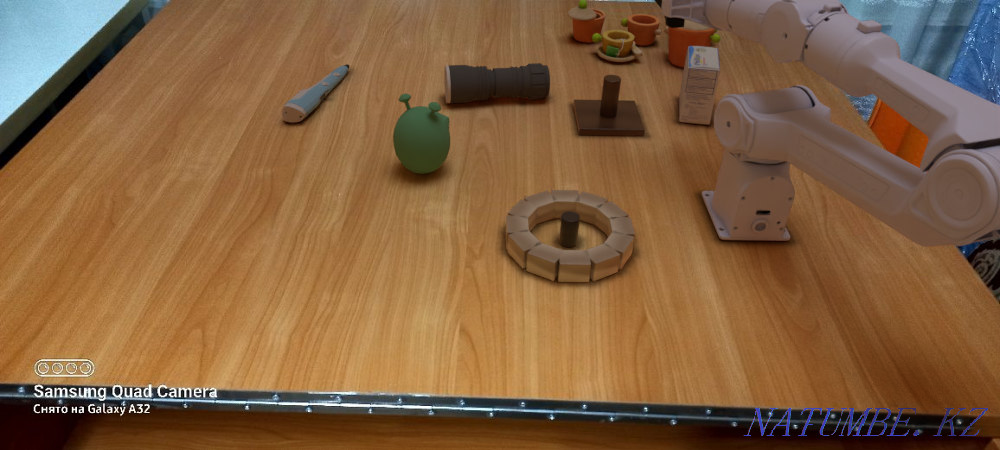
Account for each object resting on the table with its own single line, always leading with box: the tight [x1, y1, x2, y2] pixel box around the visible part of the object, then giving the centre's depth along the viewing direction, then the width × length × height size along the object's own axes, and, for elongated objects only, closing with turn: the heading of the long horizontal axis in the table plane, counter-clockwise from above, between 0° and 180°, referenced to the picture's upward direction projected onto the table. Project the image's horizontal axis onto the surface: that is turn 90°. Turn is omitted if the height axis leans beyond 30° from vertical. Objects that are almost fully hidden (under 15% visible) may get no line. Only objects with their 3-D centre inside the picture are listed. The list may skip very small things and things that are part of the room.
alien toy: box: [392, 93, 451, 175], centre depth 91 cm, size 7×8×10 cm
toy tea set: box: [566, 0, 722, 69], centre depth 124 cm, size 26×16×10 cm, turn 84°
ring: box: [505, 189, 636, 283], centre depth 81 cm, size 14×14×2 cm
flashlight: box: [443, 62, 551, 104], centre depth 109 cm, size 15×5×5 cm, turn 99°
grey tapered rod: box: [281, 63, 350, 123], centre depth 109 cm, size 19×3×3 cm, turn 166°
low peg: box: [558, 211, 581, 248], centre depth 81 cm, size 2×2×4 cm
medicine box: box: [678, 46, 721, 126], centre depth 106 cm, size 8×4×9 cm, turn 168°
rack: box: [572, 74, 646, 137], centre depth 104 cm, size 9×9×6 cm
